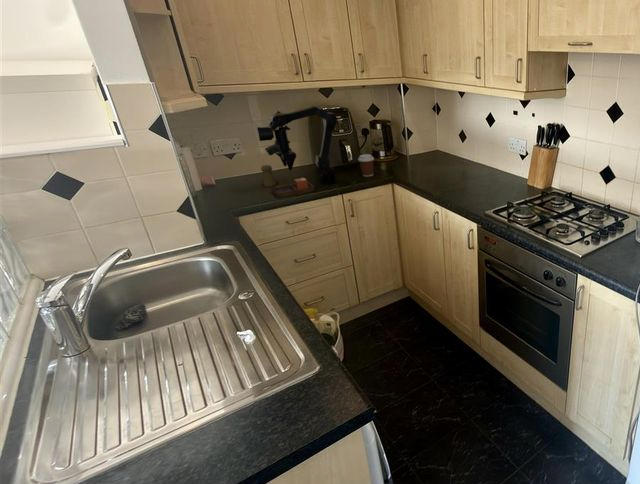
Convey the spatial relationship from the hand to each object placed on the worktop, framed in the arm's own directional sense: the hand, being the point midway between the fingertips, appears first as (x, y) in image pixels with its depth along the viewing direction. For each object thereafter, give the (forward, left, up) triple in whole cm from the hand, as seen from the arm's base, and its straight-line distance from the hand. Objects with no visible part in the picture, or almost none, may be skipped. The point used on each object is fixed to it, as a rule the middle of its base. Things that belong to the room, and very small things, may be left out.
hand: (287, 168), depth 217 cm
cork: (+8, -14, -12) cm, 20 cm away
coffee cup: (-42, +2, -12) cm, 44 cm away
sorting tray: (+1, +6, -12) cm, 13 cm away
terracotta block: (-4, +6, -11) cm, 13 cm away
